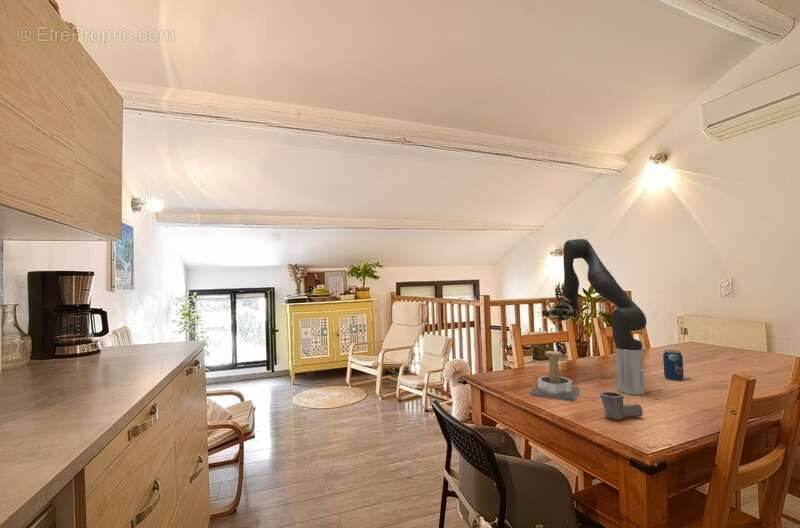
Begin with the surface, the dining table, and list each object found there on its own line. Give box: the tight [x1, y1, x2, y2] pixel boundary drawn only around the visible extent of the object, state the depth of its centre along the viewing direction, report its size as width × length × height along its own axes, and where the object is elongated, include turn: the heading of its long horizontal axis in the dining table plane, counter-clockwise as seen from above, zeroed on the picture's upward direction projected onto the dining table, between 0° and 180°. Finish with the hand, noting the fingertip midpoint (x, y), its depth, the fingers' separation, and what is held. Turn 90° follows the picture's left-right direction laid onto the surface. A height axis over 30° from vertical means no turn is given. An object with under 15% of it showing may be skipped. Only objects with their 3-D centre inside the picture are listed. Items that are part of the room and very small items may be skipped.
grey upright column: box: [544, 350, 563, 384], centre depth 152 cm, size 5×6×15 cm
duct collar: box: [529, 375, 580, 402], centre depth 152 cm, size 16×16×5 cm
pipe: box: [599, 391, 644, 421], centre depth 124 cm, size 6×13×8 cm, turn 90°
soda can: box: [662, 349, 685, 381], centre depth 165 cm, size 7×7×12 cm
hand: (557, 314), depth 163 cm, fingers open, 8 cm apart
